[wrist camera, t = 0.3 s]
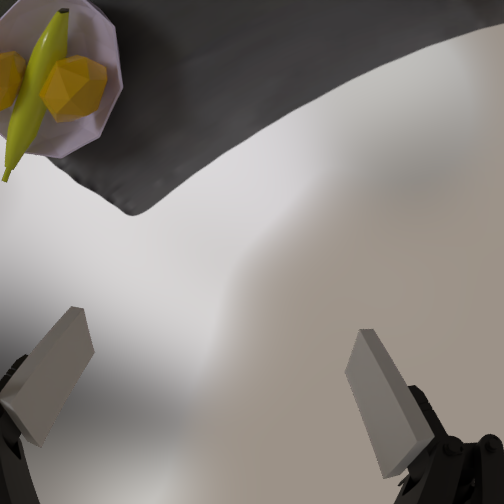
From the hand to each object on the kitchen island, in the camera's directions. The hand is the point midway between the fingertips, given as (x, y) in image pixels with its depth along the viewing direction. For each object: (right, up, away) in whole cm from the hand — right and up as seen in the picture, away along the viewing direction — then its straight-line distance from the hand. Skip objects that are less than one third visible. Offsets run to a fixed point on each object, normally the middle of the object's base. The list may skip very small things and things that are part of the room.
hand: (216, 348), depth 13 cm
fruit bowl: (-28, +31, +16) cm, 44 cm away
